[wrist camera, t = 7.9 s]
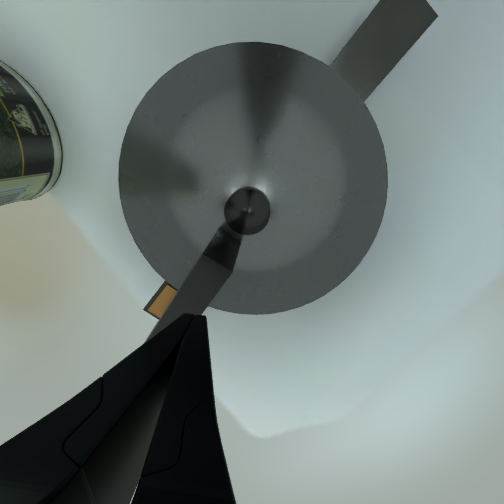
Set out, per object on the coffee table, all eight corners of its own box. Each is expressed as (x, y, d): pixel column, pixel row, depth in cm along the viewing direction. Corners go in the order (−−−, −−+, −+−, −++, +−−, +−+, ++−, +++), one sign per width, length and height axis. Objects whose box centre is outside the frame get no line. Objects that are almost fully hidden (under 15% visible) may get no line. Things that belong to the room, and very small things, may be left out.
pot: (285, -72, 13) (292, -183, 9) (452, 123, 16) (522, 116, 12) (106, 238, 22) (63, 263, 17) (238, 327, 25) (231, 368, 20)
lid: (200, -36, 10) (152, -159, 6) (442, 170, 13) (525, 184, 9) (73, 283, 18) (11, 328, 13) (242, 373, 20) (235, 434, 16)
